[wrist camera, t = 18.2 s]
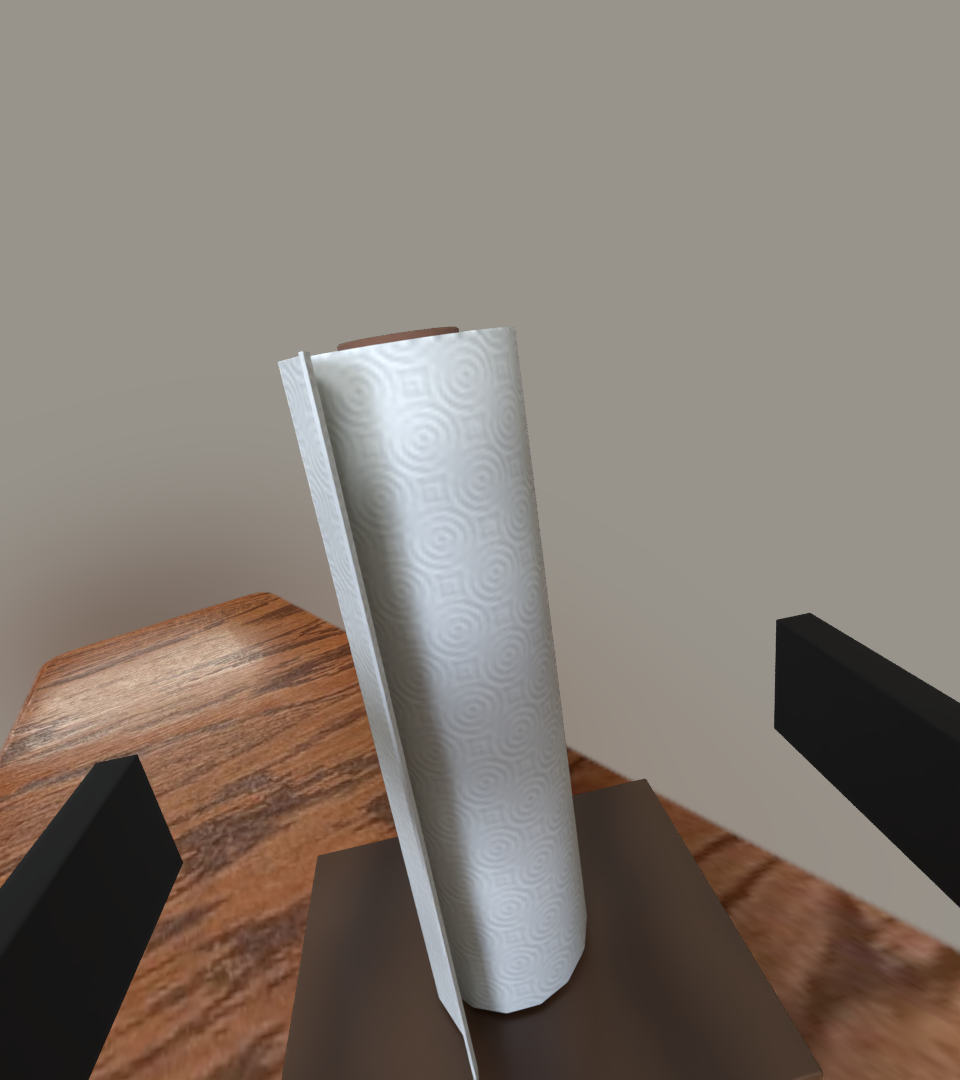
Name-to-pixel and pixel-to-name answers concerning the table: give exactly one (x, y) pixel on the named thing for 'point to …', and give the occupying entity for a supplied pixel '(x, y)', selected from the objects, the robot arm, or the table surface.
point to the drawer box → (572, 1011)
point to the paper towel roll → (452, 646)
